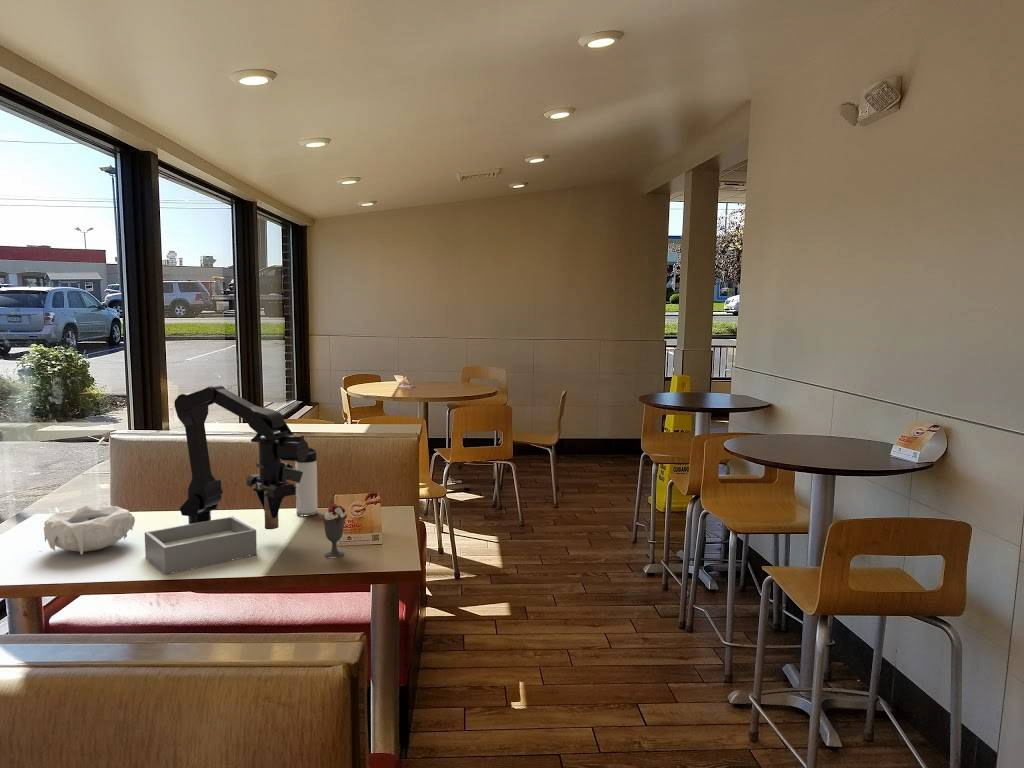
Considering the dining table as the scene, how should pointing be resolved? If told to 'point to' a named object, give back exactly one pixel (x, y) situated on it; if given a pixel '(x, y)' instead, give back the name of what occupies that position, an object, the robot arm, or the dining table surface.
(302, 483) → the travel mug
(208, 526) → the box
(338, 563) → the dining table surface
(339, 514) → the sundae
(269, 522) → the peg
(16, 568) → the dining table surface
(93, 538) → the bowl
